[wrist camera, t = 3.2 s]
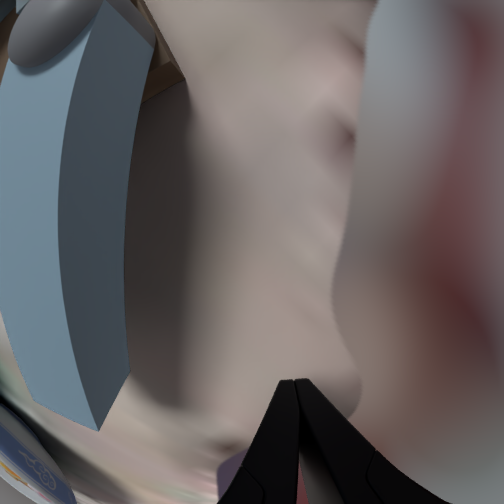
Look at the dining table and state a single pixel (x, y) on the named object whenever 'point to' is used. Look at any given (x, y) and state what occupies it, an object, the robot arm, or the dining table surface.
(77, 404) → the folding leg
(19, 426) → the ramen bowl
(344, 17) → the dining table surface
